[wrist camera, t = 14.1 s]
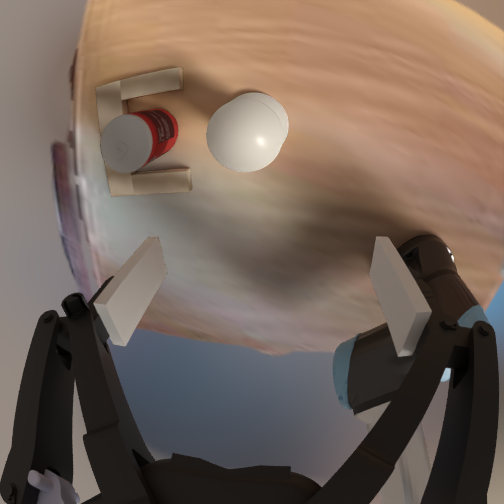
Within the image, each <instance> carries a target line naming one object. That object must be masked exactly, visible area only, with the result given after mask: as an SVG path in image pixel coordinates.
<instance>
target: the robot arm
mask: <svg viewBox="0 0 504 504" xmlns="http://www.w3.org/2000/svg"><path fill="white" fill-rule="evenodd" d="M167 274H168V273H167V269H166V265H165V261H164V257H163V253H162V249H161V244H160V240H159V237H148V238H147V239H146V240H145V241H144V242H143V243H142V244H141V246H140V247H139V248H138V249H137V250H136V251H135V252H134V254H133V255H132V256H131V257H130V258H129V259H128V261H127V262H126V263H125V264H124V265H123V267H122V268H121V269H120V270H119V271H118V273H117V274H116V275H115V276H112V277H110V278H109V279H108V280H106V281H105V282H104V283H103V285H102V286H101V288H99V290H98V291H97V292H96V293H95V295H94V296H93V297H92V298H91V300H90V301H89V302H88V303H87V302H86V300H85V298H84V296H83V294H82V293H73V294H71V295H69V296H67V297H66V298H65V299H64V300H63V301H62V304H61V306H62V308H63V309H64V312H65V313H66V315H67V316H66V317H59V315H58V313H57V312H56V311H55V310H50V311H46V312H45V313H44V314H42V315H41V317H40V318H39V320H38V323H37V326H36V329H35V332H34V335H33V338H32V342H31V345H30V349H29V352H28V356H27V360H26V363H25V367H24V371H23V376H22V380H21V385H20V390H19V395H18V401H17V406H16V412H15V419H14V427H13V436H12V447H11V450H10V453H9V455H8V458H7V461H6V464H5V468H4V471H3V474H2V478H1V481H0V494H1V496H2V498H3V500H4V501H5V502H6V503H7V504H78V503H79V501H80V498H79V495H78V494H77V493H76V492H75V490H74V488H73V486H72V482H73V452H72V451H73V449H72V415H73V394H74V381H75V380H76V386H77V391H78V396H79V400H80V405H81V410H82V414H83V418H84V422H85V426H86V430H87V434H85V435H83V441H84V445H85V449H86V452H87V455H88V459H89V462H90V465H91V468H92V471H93V473H94V476H95V479H96V482H97V484H98V487H99V489H100V492H101V493H100V494H98V495H96V496H94V497H92V498H91V499H89V500H87V501H85V502H83V503H81V504H369V503H370V502H371V501H372V500H373V499H374V497H375V496H376V494H377V493H378V492H380V498H381V504H487V491H488V487H489V483H490V478H491V473H492V468H493V462H494V455H495V448H496V440H497V429H498V414H499V373H498V357H497V346H496V337H495V332H494V329H493V328H492V326H491V325H490V323H489V321H488V319H487V317H486V315H485V313H484V310H483V308H482V307H481V305H479V303H478V302H477V300H476V299H475V297H474V296H473V294H472V293H471V291H470V290H469V289H468V287H467V286H466V284H465V283H464V282H463V280H462V279H461V278H460V276H459V275H458V273H457V269H456V266H455V263H454V258H453V255H452V252H451V251H450V249H449V248H448V246H447V245H446V244H445V243H444V242H443V241H442V240H441V239H440V238H438V237H435V236H431V235H424V236H419V237H416V238H413V239H411V240H409V241H408V242H406V243H405V244H403V245H402V246H401V247H400V248H399V249H398V250H396V248H395V247H394V245H393V244H392V242H391V241H390V239H389V238H388V237H380V236H376V241H375V247H374V253H373V259H372V264H371V269H370V274H369V276H370V279H371V281H372V284H373V286H374V289H375V291H376V294H377V297H378V299H379V302H380V305H381V307H382V310H383V313H384V316H385V319H386V321H387V322H386V323H384V324H382V325H380V326H378V327H375V328H373V329H371V330H369V331H366V332H364V333H360V334H357V335H356V336H355V337H353V338H351V339H349V340H347V341H345V342H343V343H341V344H340V345H339V346H338V347H337V349H336V351H335V354H334V357H333V379H334V385H335V391H336V394H337V395H338V399H339V402H340V404H341V405H342V407H344V408H345V409H353V412H354V416H355V418H357V419H359V420H361V421H363V422H364V423H365V424H366V425H367V430H368V435H367V436H366V437H365V439H364V440H363V441H362V442H361V444H360V445H359V446H358V448H357V449H356V450H355V451H354V452H353V454H352V455H351V456H350V457H349V458H348V460H347V461H346V462H345V463H344V464H343V465H342V467H341V468H340V469H339V470H338V471H337V472H336V473H335V474H334V476H332V478H331V479H330V480H329V481H328V482H327V483H326V484H325V485H324V486H323V487H321V486H319V485H318V484H317V483H316V482H315V481H313V480H311V479H310V478H308V477H306V476H304V475H301V474H298V473H294V472H290V470H291V467H290V466H262V465H260V466H253V467H246V468H238V469H226V468H223V467H220V466H218V465H215V464H212V463H210V462H207V461H205V460H202V459H200V458H195V457H190V456H184V455H180V454H175V453H173V454H172V458H171V459H163V460H158V461H155V459H154V458H153V456H152V455H151V453H150V452H149V451H148V449H147V447H146V445H145V443H144V440H143V438H142V436H141V434H140V432H139V430H138V427H137V425H136V422H135V420H134V418H133V415H132V413H131V410H130V408H129V405H128V403H127V400H126V398H125V395H124V392H123V389H122V386H121V383H120V381H119V378H118V375H117V372H116V369H115V366H114V362H113V359H112V356H111V353H110V349H109V346H108V344H107V342H106V341H107V339H108V337H110V338H111V340H112V342H113V344H115V345H120V346H126V344H127V342H128V341H129V339H130V337H131V335H132V333H133V332H134V330H135V328H136V326H137V325H138V323H139V321H140V319H141V317H142V316H143V314H144V312H145V311H146V309H147V307H148V305H149V304H150V302H151V300H152V299H153V297H154V295H155V293H156V292H157V290H158V288H159V287H160V285H161V283H162V282H163V280H164V278H165V277H166V275H167ZM446 380H450V382H449V390H448V398H447V404H446V410H445V417H444V421H443V427H442V431H441V436H440V440H439V445H438V448H437V452H436V456H435V460H434V463H433V467H432V468H431V463H430V457H429V452H428V448H427V443H426V438H425V434H424V430H423V425H422V421H421V420H422V418H423V416H424V415H425V413H426V410H427V409H428V407H429V404H430V402H431V400H432V398H433V396H434V394H435V392H436V390H437V388H438V385H439V383H440V382H444V381H446Z"/></svg>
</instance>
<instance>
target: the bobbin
mask: <svg viewBox="0 0 504 504" xmlns="http://www.w3.org/2000/svg"><path fill="white" fill-rule="evenodd" d="M288 129H289V122H288V117H287V114H286V112H285V110H284V108H283V107H282V105H281V104H280V103H279V102H278V101H277V100H275V99H274V98H272V97H270V96H268V95H266V94H262V93H246V94H242V95H239V96H238V97H236V98H234V99H233V100H231V101H230V102H228V103H226V104H224V105H223V106H221V107H220V108H219V109H218V110H217V111H216V112H215V113H214V114H213V116H212V117H211V119H210V121H209V123H208V127H207V133H206V138H207V144H208V147H209V149H210V152H211V153H212V155H213V156H214V158H215V159H216V160H217V161H218V162H219V163H220V164H222V165H223V166H225V167H226V168H229V169H231V170H234V171H238V172H252V171H256V170H259V169H262V168H264V167H265V166H267V165H268V164H270V163H271V162H272V161H273V160H274V159H275V158H276V156H277V155H278V153H279V151H280V149H281V146H282V144H283V143H284V141H285V139H286V137H287V134H288Z"/></svg>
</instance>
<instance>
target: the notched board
mask: <svg viewBox="0 0 504 504" xmlns="http://www.w3.org/2000/svg"><path fill="white" fill-rule="evenodd" d="M181 89H183V72H182V68H179V67H177V68H171V69H166V70H161V71H156V72H151V73H146V74H142V75H138V76H134V77H130V78H126V79H122V80H119V81H115V82H112V83H108V84H105V85H102V86H98V87H96V100H97V111H98V120H99V128H100V136H101V137H102V133H103V131H104V129H105V127H106V126H107V124H108V123H109V122H110V121H111V120H113V119H114V118H116V117H118V116H120V115H124V114H128V107H127V99H132V98H136V97H141V96H146V95H151V94H156V93H162V92H168V91H174V90H181ZM105 167H106V173H107V178H108V183H109V188H110V193H111V197H116V196H129V195H143V194H159V193H180V192H190V190H191V189H192V182H191V173H190V168H184V169H170V170H157V171H146V172H137V173H136V171H133V172H130V173H119V172H116V171H114V170H113V169H111V168H110V167H109V166H108V165H107V164H106V162H105Z"/></svg>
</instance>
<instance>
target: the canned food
mask: <svg viewBox="0 0 504 504" xmlns="http://www.w3.org/2000/svg"><path fill="white" fill-rule="evenodd" d="M177 136H178V125H177V122H176V119H175V118H174V117H173V115H171V114H170V113H169V112H168V111H166V110H163V109H151V110H145V111H139V112H133V113H128V114H124V115H120V116H118V117H116V118H114V119H113V120H111V121H110V122H109V123H108V124H107V126H106V127H105V129H104V131H103V133H102V137H101V144H100V147H101V153H102V156H103V159H104V161H105V162H106V164H107V165H108V166H109V167H110V168H111V169H113V170H114V171H116V172H119V173H130V172H133V171H136V170H138V169H139V168H141V167H143V166H145V165H146V164H148V163H150V162H151V161H153V160H154V159H156V158H158V157H160V156H161V155H163V154H165V153H166V152H168V151H169V150H170V149H171V148H172V147H173V145H174V144H175V142H176V139H177Z"/></svg>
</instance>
